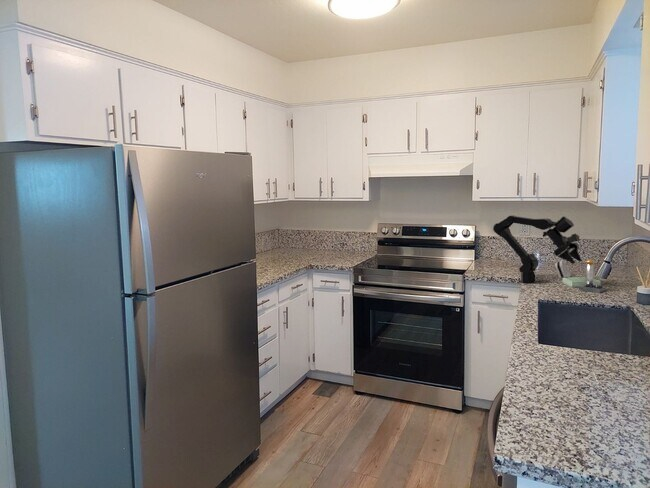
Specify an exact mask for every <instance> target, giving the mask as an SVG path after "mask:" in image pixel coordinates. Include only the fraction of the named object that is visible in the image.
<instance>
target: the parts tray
mask: <svg viewBox="0 0 650 488" xmlns="http://www.w3.org/2000/svg"><path fill="white" fill-rule="evenodd" d="M561 280H562V282H561V283H562V285H563V284H564V285H566V286H567V287H570V288H579V286H582V285H586V277H585V276H581V277H579V276H576V277H570V278H568V277H562V278H561ZM601 283H602V282H601V280H598V279H596V278H593V285H602V284H601Z"/></svg>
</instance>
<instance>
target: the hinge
mask: <svg viewBox="0 0 650 488" xmlns="http://www.w3.org/2000/svg"><path fill="white" fill-rule="evenodd" d="M554 266H555V270H556V273H557V275H558V278H559V279H563V278H571V276H572V271H570V270H569V269H568V268H567V265H566V263H565V261H564V260H559V261H556V262H555V264H554Z"/></svg>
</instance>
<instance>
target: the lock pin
mask: <svg viewBox="0 0 650 488" xmlns="http://www.w3.org/2000/svg"><path fill="white" fill-rule="evenodd" d="M585 264H586V266H585V267H586V268H585V269H586V275H585V276H586V287H593V279H594V264H595V260H593V259H586V260H585Z"/></svg>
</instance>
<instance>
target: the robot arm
mask: <svg viewBox="0 0 650 488" xmlns="http://www.w3.org/2000/svg"><path fill="white" fill-rule="evenodd" d="M513 224H517V225H525V226H531V227H533V228H536V229H539V230H542V231H543V232H542V237H548V238H549V240H550V241H552V246H555V247H556V249H555V250H554V251H553V255H555V256H556V257H558V258H560V259H563V260H565V261H566V262H569V263H571V264H572V265H574V264H576V262H575V260H577V262H582V258H581V255H580V252H579V248H580V247H579V246H580V245H579V244H578V241H579V242H580V235H579V234H577V233H573V234H571V236H565V235H563V234H562V233H567V232H568V231H569V230H570V229H572V228H573V227H574V223H573V221H572V220H570V219H569V218H568V217H566V216H562V217H561V218H560V219H558V220H557V221H553V220H552V219H550V218H530V217H524V216H517V215H512V214H511V215H509V216H507V217H506V218H504V219H503V220H502V221H500V222H497V223H495V224H494V225H493V226H492V227H493V232H494V233H496V235H498V236H499V237H501V238H503V239H504V240H505V241H506V243H507V244H508V245H509V246H510V248H511V249H512V250H513V251H514V252H515V254H516V255H518V257H519V258H520V261H521V264H522V265H520V267H519V268H518V270H519V272H520V280H519V282H520V283H522V284H536V274H535V271H536V269H537V268H538V267H539V265H540V264H539V258H537V256H536V255H535V254H534V253H528V252H527V250H526V249H525V248H524V247H523V246H522V245H521V244H520V243H519V240H518V239H516V238H515V236H513V234H512V233H511V229H510V227H511V226H513ZM544 230H546V231H544ZM574 259H575V260H574Z"/></svg>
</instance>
